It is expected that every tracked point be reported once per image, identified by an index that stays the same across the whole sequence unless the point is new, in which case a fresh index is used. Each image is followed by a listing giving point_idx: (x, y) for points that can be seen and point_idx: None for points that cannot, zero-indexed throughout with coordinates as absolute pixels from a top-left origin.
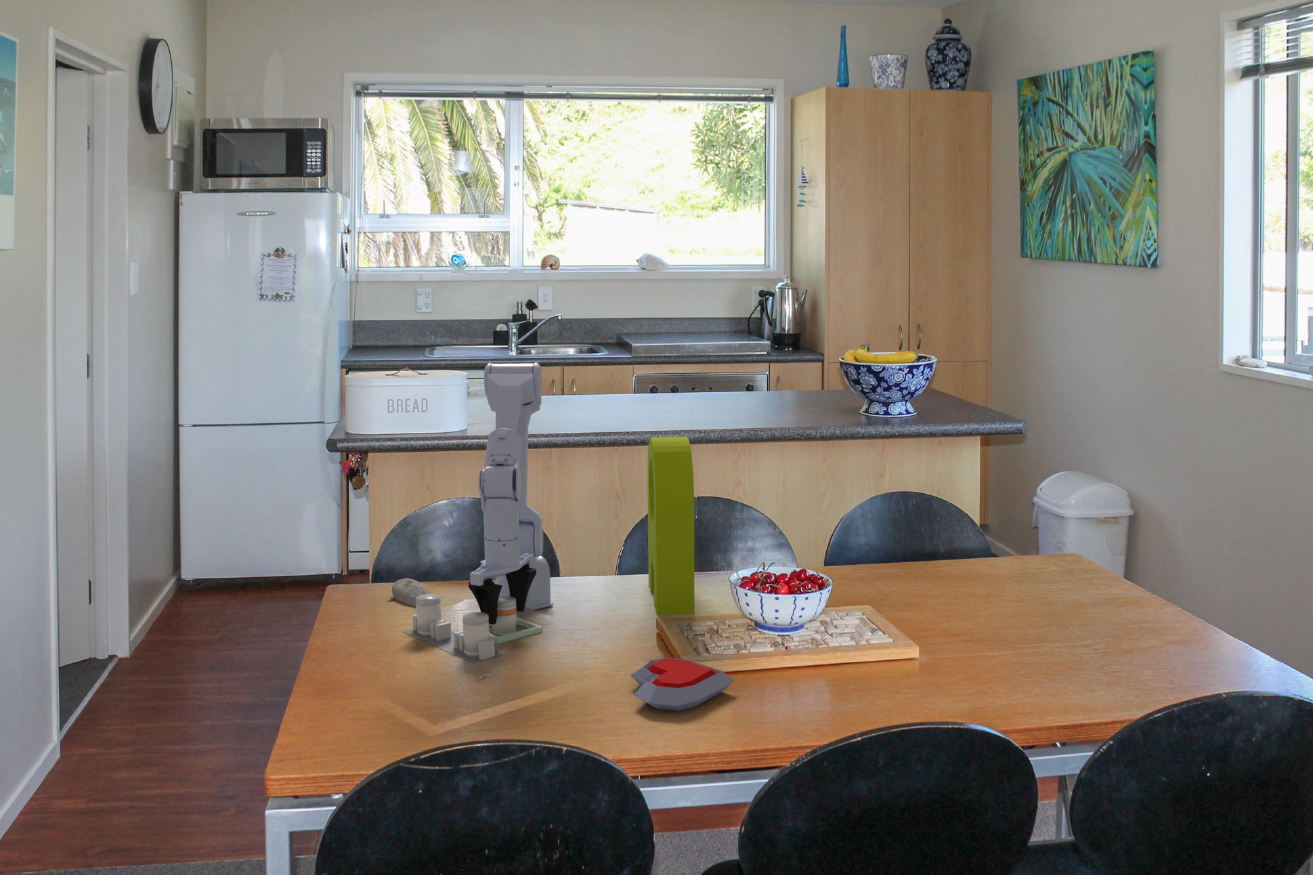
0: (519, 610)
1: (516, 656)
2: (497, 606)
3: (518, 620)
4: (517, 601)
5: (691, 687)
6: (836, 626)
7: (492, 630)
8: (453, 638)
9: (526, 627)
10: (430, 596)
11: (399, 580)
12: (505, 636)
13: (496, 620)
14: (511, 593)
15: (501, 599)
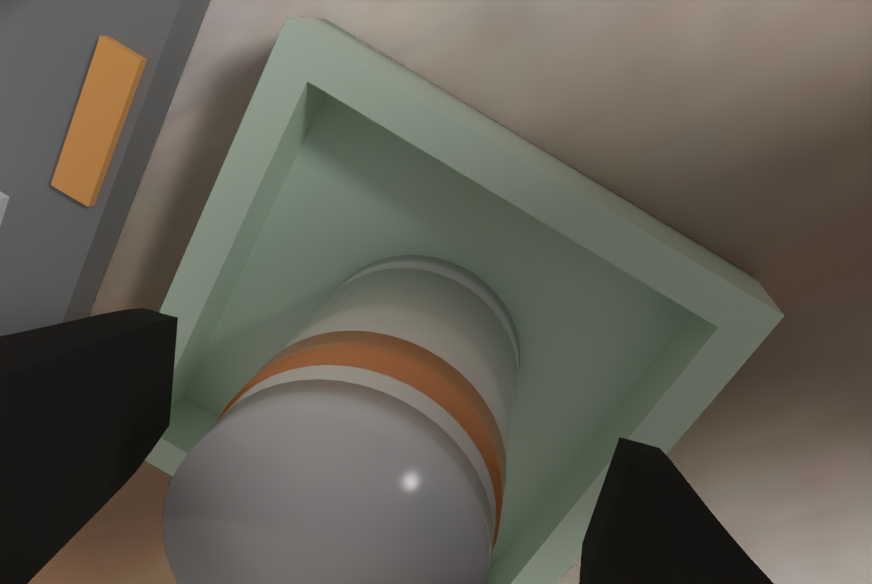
0: (591, 528)
1: (100, 541)
2: (34, 575)
3: (629, 433)
4: (606, 578)
5: None
6: None
7: (356, 277)
8: (65, 8)
9: (556, 499)
10: None
11: None
12: (172, 476)
13: (148, 451)
14: (659, 564)
15: (313, 532)
